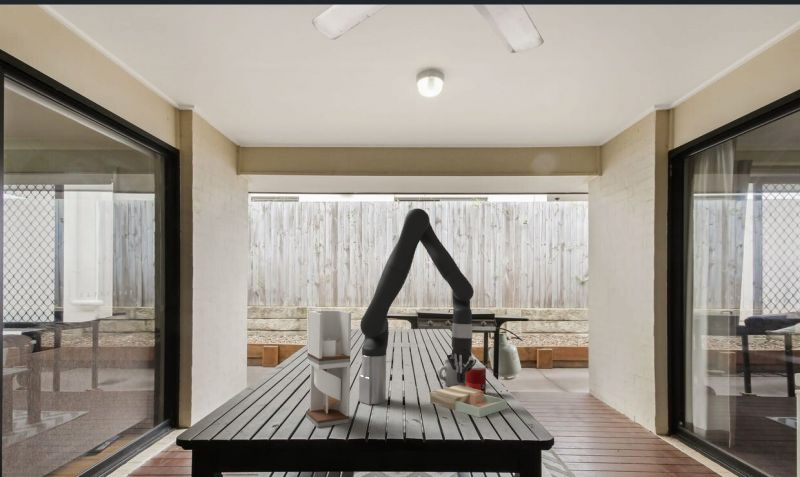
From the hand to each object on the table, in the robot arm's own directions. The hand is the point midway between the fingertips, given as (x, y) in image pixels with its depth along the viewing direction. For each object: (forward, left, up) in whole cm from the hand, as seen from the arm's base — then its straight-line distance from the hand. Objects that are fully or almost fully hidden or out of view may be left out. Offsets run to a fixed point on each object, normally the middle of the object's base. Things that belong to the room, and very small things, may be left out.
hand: (460, 382), depth 172 cm
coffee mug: (+19, +21, -8) cm, 30 cm away
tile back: (+1, -6, -5) cm, 8 cm away
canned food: (+15, +5, -8) cm, 18 cm away
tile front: (+1, -11, -6) cm, 12 cm away
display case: (-48, +16, -8) cm, 51 cm away
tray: (0, -9, -8) cm, 12 cm away
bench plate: (0, +2, -8) cm, 8 cm away
